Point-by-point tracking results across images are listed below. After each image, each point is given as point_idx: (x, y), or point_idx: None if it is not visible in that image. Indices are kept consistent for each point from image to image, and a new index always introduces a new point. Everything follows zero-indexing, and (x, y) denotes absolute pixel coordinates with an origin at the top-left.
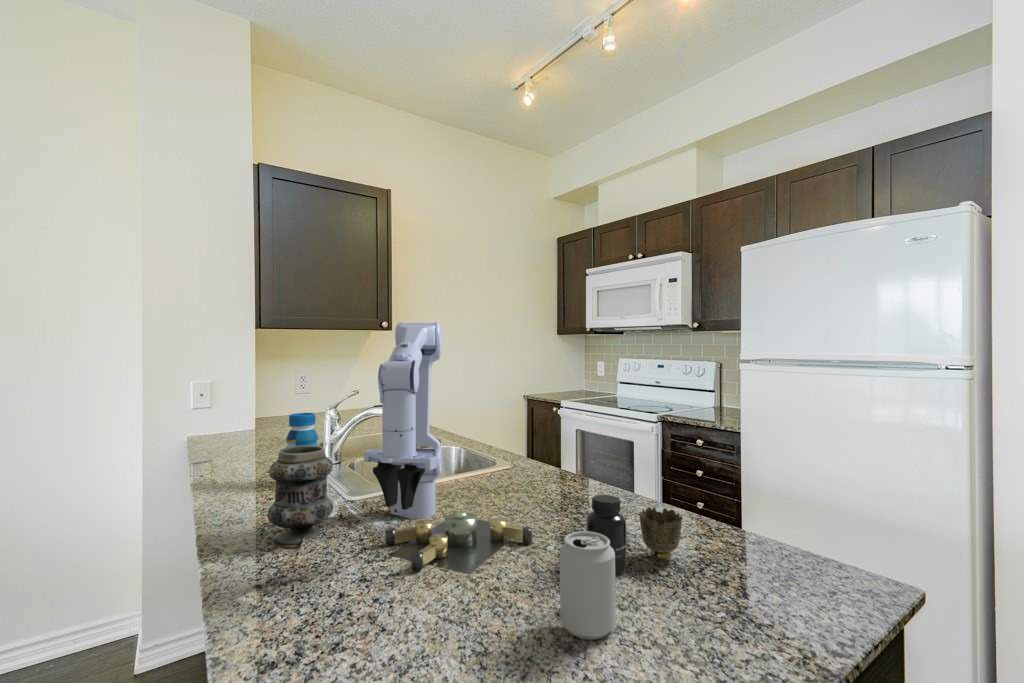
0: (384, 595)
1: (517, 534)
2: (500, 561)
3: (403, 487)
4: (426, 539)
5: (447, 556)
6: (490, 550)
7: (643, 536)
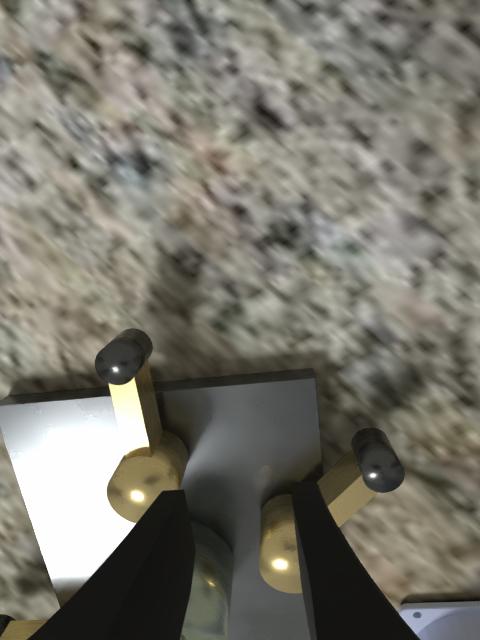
0: (144, 201)
1: (16, 637)
2: (29, 521)
3: (70, 629)
4: (263, 511)
5: None
6: (58, 545)
7: None
